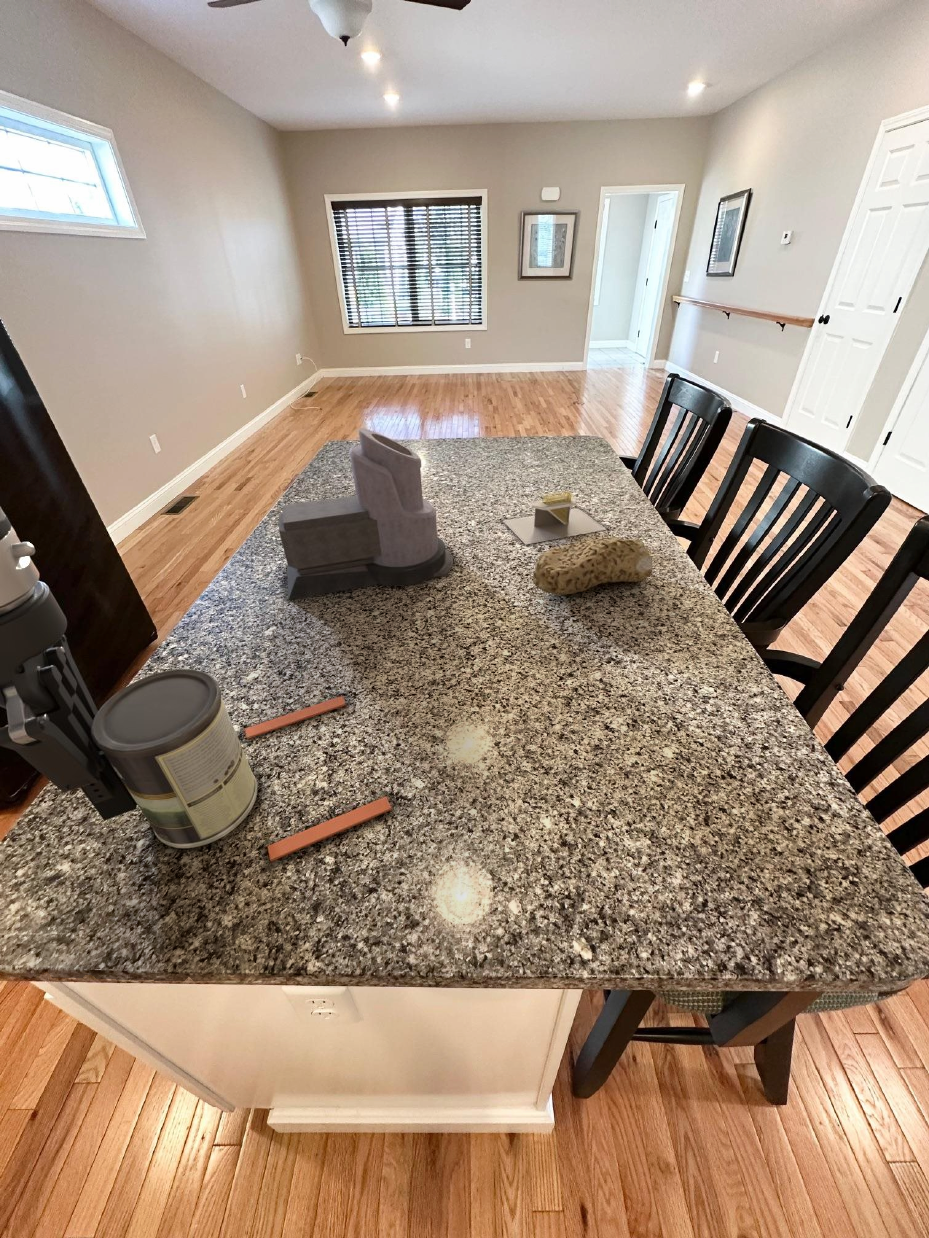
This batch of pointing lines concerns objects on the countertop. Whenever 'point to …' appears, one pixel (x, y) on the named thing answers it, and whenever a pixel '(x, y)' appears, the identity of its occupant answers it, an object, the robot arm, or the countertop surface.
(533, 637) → the countertop surface
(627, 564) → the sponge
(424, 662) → the countertop surface
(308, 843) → the strips
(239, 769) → the coffee can
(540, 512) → the platform
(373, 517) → the machine
